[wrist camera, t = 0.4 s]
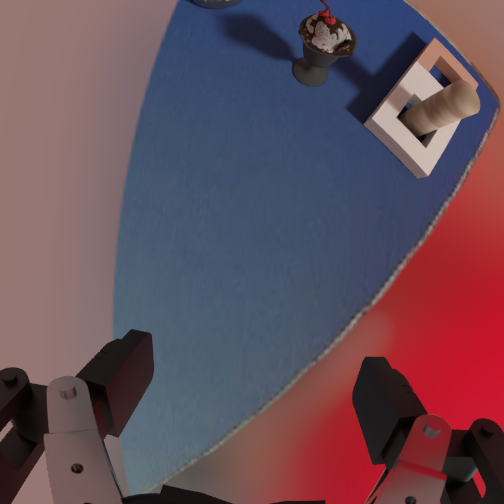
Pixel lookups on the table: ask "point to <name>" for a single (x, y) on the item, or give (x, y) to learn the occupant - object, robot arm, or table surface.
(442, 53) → the dock board
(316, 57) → the sundae
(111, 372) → the robot arm
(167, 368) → the table surface
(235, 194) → the table surface
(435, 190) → the table surface
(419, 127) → the peg
